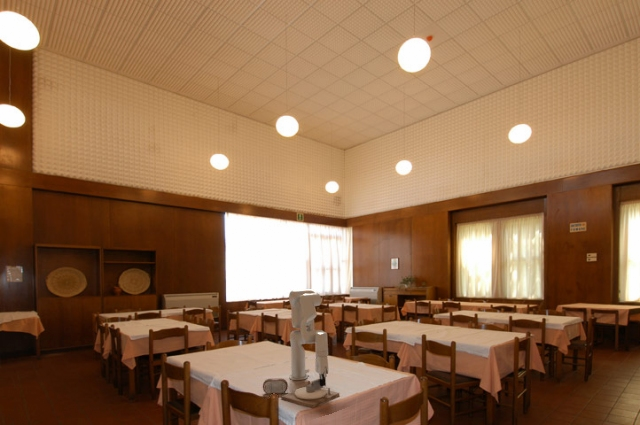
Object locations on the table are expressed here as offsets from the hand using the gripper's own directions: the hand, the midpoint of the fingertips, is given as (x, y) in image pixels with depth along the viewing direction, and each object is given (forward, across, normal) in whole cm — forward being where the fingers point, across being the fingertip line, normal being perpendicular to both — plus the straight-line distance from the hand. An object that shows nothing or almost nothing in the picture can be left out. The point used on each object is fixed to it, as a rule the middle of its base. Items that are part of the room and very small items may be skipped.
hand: (322, 385), depth 225 cm
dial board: (+5, +1, -8) cm, 10 cm away
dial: (+4, +1, -8) cm, 9 cm away
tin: (+5, -15, -25) cm, 30 cm away
